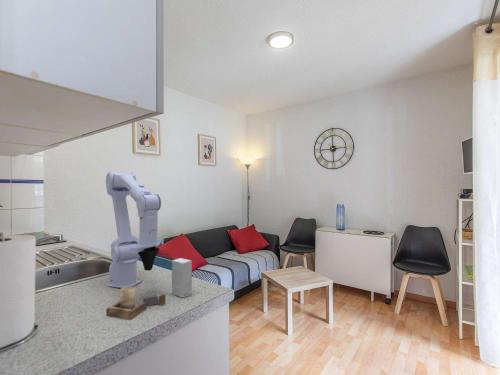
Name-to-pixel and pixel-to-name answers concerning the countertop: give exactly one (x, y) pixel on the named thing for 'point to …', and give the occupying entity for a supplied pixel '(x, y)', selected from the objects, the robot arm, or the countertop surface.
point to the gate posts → (162, 299)
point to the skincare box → (181, 277)
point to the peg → (127, 297)
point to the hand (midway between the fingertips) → (148, 269)
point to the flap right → (151, 300)
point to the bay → (124, 311)
